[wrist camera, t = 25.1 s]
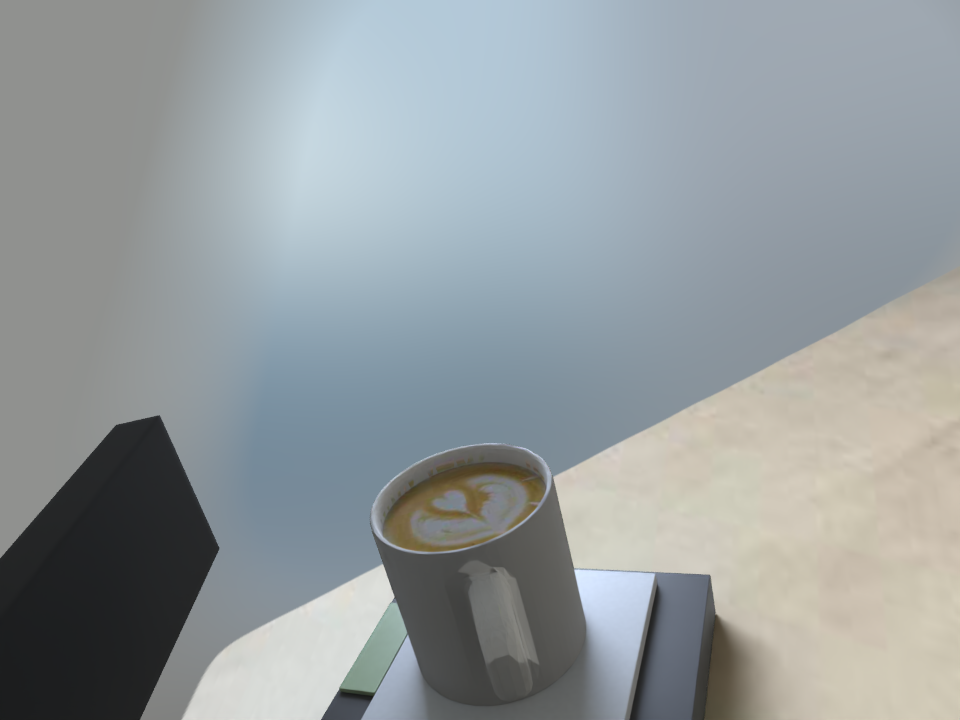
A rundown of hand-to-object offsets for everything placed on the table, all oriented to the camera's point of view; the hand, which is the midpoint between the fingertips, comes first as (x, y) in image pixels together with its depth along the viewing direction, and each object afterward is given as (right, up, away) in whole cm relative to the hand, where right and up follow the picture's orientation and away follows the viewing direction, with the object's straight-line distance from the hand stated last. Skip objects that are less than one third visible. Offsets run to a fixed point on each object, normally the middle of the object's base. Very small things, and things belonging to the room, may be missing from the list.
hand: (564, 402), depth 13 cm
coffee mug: (0, -16, +31) cm, 35 cm away
